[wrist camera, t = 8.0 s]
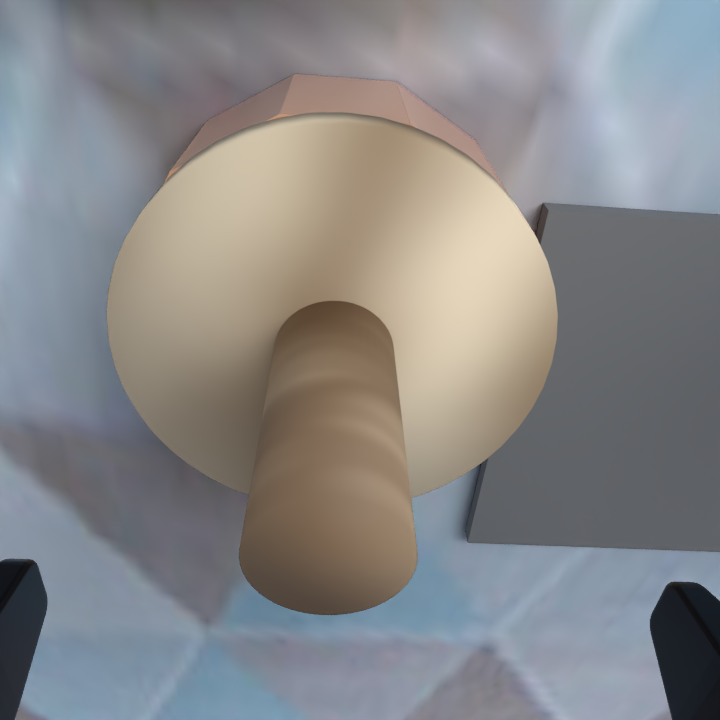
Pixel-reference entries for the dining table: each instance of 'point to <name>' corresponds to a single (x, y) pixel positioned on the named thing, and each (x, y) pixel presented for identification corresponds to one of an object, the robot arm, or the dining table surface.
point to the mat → (618, 392)
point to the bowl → (334, 96)
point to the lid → (331, 338)
